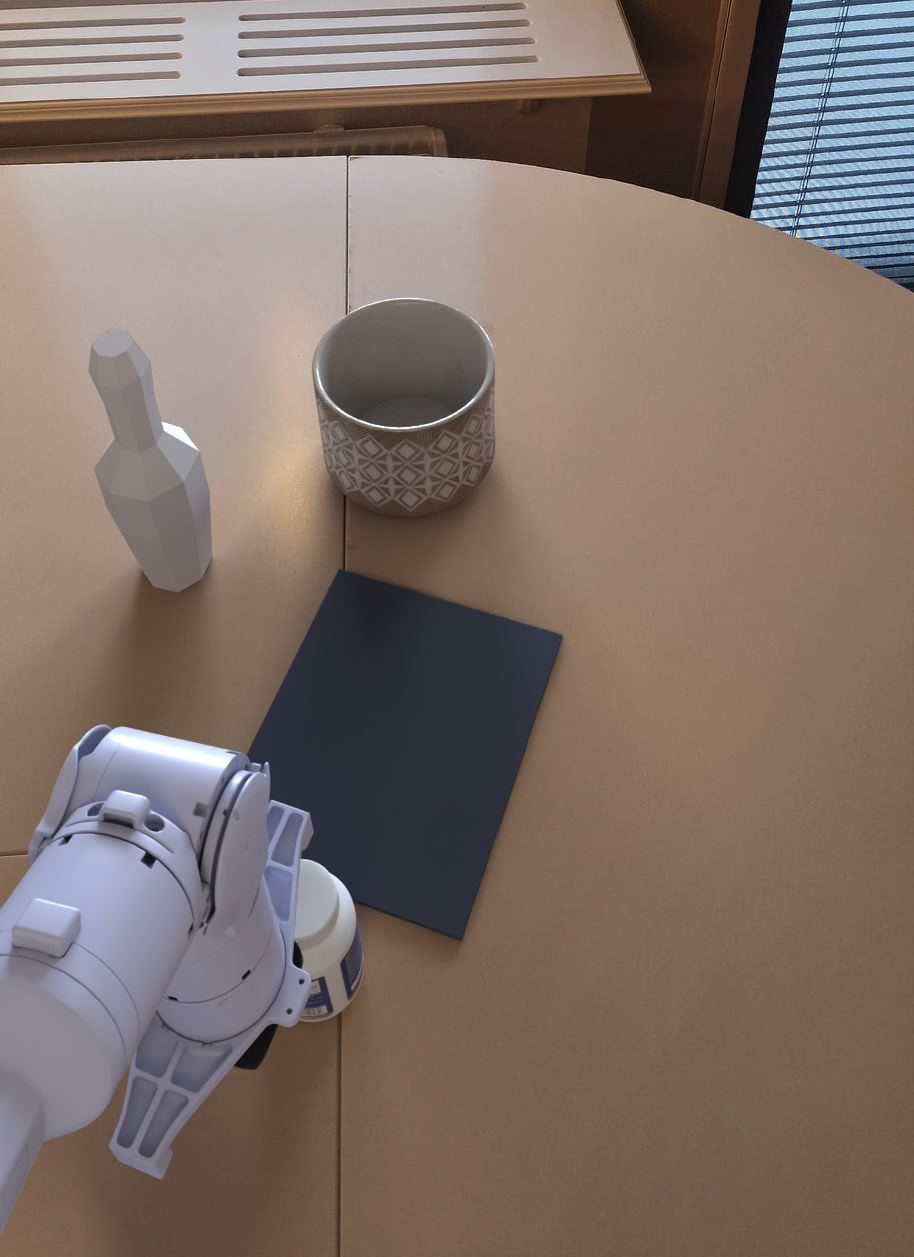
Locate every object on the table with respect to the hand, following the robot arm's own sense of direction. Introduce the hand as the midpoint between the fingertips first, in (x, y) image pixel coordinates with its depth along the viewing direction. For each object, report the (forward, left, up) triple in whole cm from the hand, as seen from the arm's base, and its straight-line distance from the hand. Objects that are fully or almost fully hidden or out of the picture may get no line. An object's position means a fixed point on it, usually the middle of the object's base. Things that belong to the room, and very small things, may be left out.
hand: (246, 1037), depth 61 cm
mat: (+20, +1, -8) cm, 22 cm away
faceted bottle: (+27, +20, -8) cm, 35 cm away
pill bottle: (+6, 0, -8) cm, 10 cm away
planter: (+41, +8, -8) cm, 43 cm away
